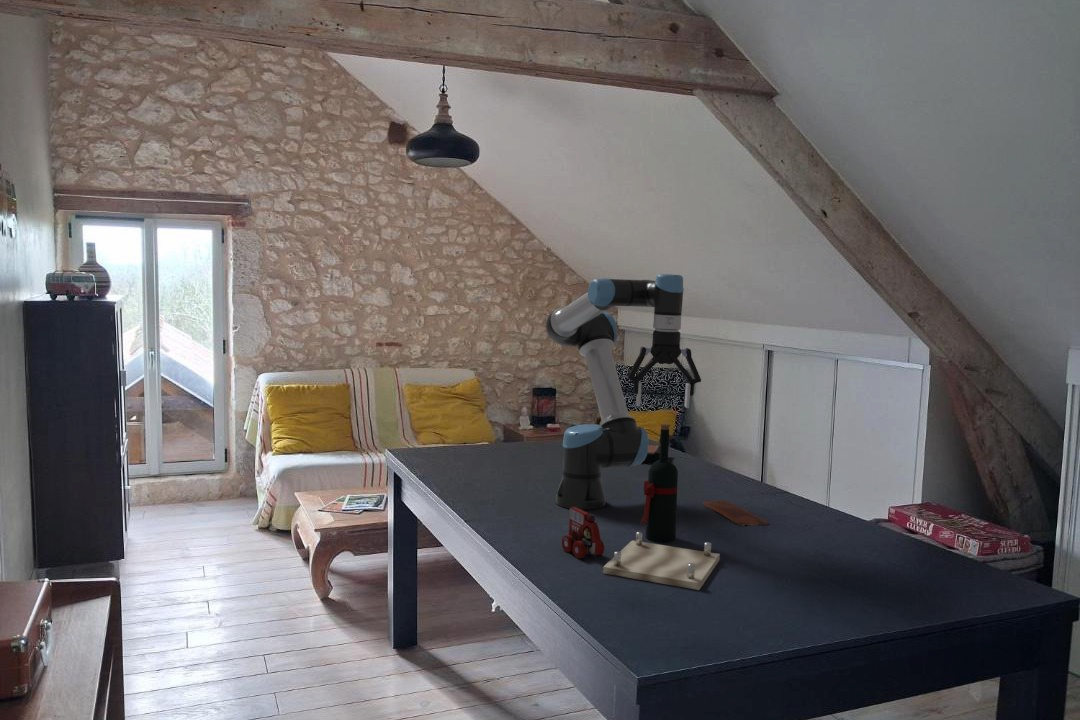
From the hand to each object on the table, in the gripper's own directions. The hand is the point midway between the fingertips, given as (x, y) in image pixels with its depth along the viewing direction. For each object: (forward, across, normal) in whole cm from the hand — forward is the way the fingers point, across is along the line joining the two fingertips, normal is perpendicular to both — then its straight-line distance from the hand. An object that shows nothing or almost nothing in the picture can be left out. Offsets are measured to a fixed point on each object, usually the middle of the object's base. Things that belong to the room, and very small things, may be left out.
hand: (662, 406), depth 226 cm
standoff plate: (+31, -5, -40) cm, 51 cm away
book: (+35, +5, +83) cm, 90 cm away
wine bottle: (+32, -3, -18) cm, 37 cm away
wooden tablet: (+33, +24, +8) cm, 42 cm away
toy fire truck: (+32, -23, -31) cm, 50 cm away
